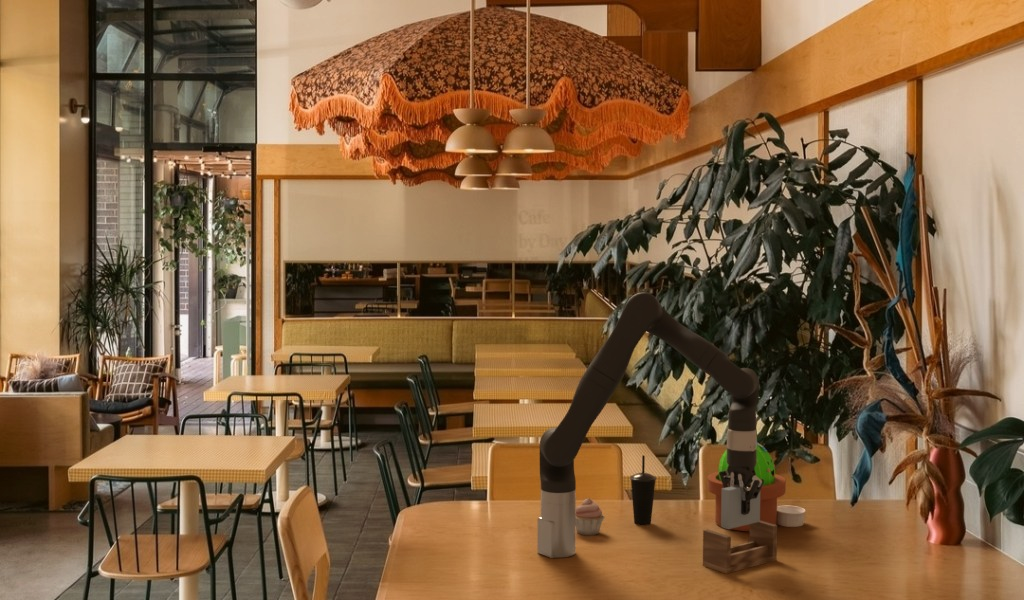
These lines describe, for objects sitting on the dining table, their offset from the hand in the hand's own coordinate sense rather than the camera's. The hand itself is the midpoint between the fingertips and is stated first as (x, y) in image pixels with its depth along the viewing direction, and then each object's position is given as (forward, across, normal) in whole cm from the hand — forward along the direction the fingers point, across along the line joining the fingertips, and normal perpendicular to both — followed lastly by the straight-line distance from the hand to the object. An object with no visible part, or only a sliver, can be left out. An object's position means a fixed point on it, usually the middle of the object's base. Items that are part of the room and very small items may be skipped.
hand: (740, 512), depth 283 cm
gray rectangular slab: (+3, 0, 0) cm, 3 cm away
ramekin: (+14, -17, +40) cm, 45 cm away
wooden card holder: (+13, 0, 0) cm, 13 cm away
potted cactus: (+13, -24, +29) cm, 40 cm away
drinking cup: (+13, -42, +5) cm, 44 cm away
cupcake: (+13, -44, -14) cm, 48 cm away
